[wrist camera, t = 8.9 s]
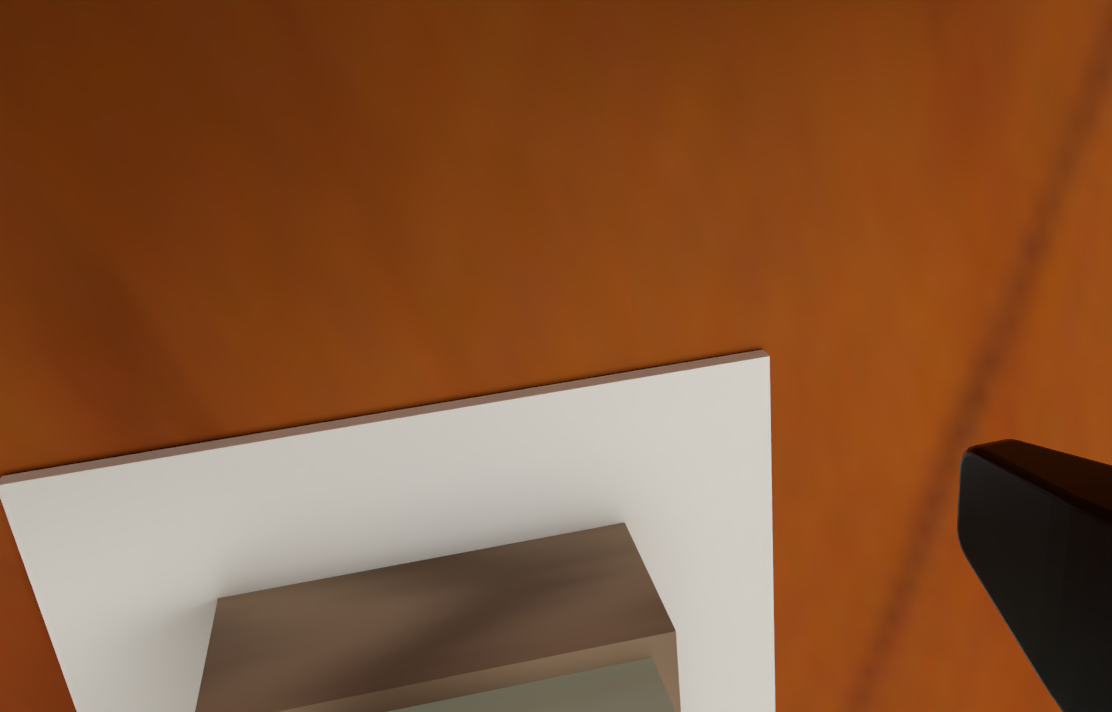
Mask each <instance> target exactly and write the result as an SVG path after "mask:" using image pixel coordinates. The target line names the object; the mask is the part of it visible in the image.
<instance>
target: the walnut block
mask: <svg viewBox="0 0 1112 712" xmlns="http://www.w3.org/2000/svg"><path fill="white" fill-rule="evenodd" d="M647 658H653V661H654V663H655V665H656V668H657V670H658V673H659V675H660V677H661V680H662V682H663V684H664V687H665V689H666V692H667V694H668V696H669V699H670V701H671V703H672V706H673V708H674V711H675V712H681V705H680V689H679V673H678V657H677V640H676V630H675V628H674V626H673V624H672V622H671V620H670V618H669V615H668V613H667V611H666V609H665V607H664V605H663V603H662V601H661V598H660V596H659V594H658V592H657V590H656V588H655V586H654V584H653V581H652V579H651V577H650V575H649V573H648V571H647V569H646V567H645V565H644V562H643V560H642V558H641V556H640V554H639V552H638V550H637V548H636V545H635V543H634V541H633V539H632V537H631V535H630V533H629V531H628V528H627V526H626V524H625V522H624V523H619V524H614V525H608V526H603V527H598V528H592V529H587V530H582V531H576V532H571V533H565V534H560V535H555V536H549V537H544V538H539V539H533V540H528V541H522V542H517V543H512V544H506V545H501V546H496V547H490V548H485V549H479V550H474V551H469V552H463V553H458V554H453V555H447V556H442V557H437V558H431V559H426V560H420V561H415V562H410V563H404V564H399V565H394V566H388V567H383V568H377V569H372V570H367V571H361V572H356V573H351V574H345V575H340V576H335V577H329V578H324V579H318V580H313V581H308V582H302V583H297V584H292V585H286V586H281V587H275V588H270V589H265V590H259V591H254V592H249V593H243V594H238V595H232V596H227V597H222V598H218V600H217V605H216V610H215V615H214V620H213V625H212V630H211V635H210V640H209V645H208V650H207V655H206V660H205V665H204V670H203V675H202V680H201V685H200V690H199V695H198V700H197V704H196V709H195V712H388V711H393V710H398V709H403V708H408V707H412V706H417V705H422V704H427V703H432V702H437V701H442V700H447V699H451V698H456V697H461V696H466V695H471V694H476V693H481V692H486V691H491V690H495V689H500V688H505V687H510V686H515V685H520V684H525V683H530V682H534V681H539V680H544V679H549V678H554V677H559V676H564V675H569V674H574V673H578V672H583V671H588V670H593V669H598V668H603V667H608V666H613V665H617V664H622V663H627V662H632V661H637V660H642V659H647Z"/></svg>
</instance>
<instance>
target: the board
mask: <svg viewBox="0 0 1112 712" xmlns="http://www.w3.org/2000/svg"><path fill="white" fill-rule="evenodd" d="M0 499H1V501H2V504H3V507H4V510H5V513H6V515H7V518H8V521H9V524H10V527H11V529H12V532H13V535H14V538H15V541H16V543H17V546H18V549H19V552H20V555H21V557H22V560H23V563H24V566H25V568H26V571H27V574H28V577H29V580H30V582H31V585H32V588H33V591H34V594H35V596H36V599H37V602H38V605H39V608H40V610H41V613H42V616H43V619H44V622H45V624H46V627H47V630H48V633H49V636H50V638H51V641H52V644H53V647H54V650H55V652H56V655H57V658H58V661H59V663H60V666H61V669H62V672H63V675H64V677H65V680H66V683H67V686H68V689H69V691H70V694H71V697H72V700H73V703H74V705H75V708H76V711H77V712H195V709H196V704H197V700H198V695H199V690H200V685H201V680H202V675H203V670H204V665H205V660H206V655H207V650H208V645H209V640H210V635H211V630H212V625H213V620H214V615H215V610H216V605H217V600H218V598H222V597H227V596H232V595H238V594H243V593H249V592H254V591H259V590H265V589H270V588H275V587H281V586H286V585H292V584H297V583H302V582H308V581H313V580H318V579H324V578H329V577H335V576H340V575H345V574H351V573H356V572H361V571H367V570H372V569H377V568H383V567H388V566H394V565H399V564H404V563H410V562H415V561H420V560H426V559H431V558H437V557H442V556H447V555H453V554H458V553H463V552H469V551H474V550H479V549H485V548H490V547H496V546H501V545H506V544H512V543H517V542H522V541H528V540H533V539H539V538H544V537H549V536H555V535H560V534H565V533H571V532H576V531H582V530H587V529H592V528H598V527H603V526H608V525H614V524H619V523H624V522H625V524H626V526H627V528H628V531H629V533H630V535H631V537H632V539H633V541H634V543H635V545H636V548H637V550H638V552H639V554H640V556H641V558H642V560H643V562H644V565H645V567H646V569H647V571H648V573H649V575H650V577H651V579H652V581H653V584H654V586H655V588H656V590H657V592H658V594H659V596H660V598H661V601H662V603H663V605H664V607H665V609H666V611H667V613H668V615H669V618H670V620H671V622H672V624H673V626H674V628H675V630H676V640H677V657H678V673H679V689H680V705H681V712H775V665H774V601H773V538H772V475H771V412H770V356H769V355H768V354H767V353H766V352H765V351H764V350H757V351H751V352H745V353H738V354H732V355H726V356H720V357H714V358H708V359H702V360H696V361H690V362H684V363H678V364H672V365H666V366H660V367H654V368H648V369H642V370H636V371H630V372H624V373H618V374H612V375H606V376H600V377H594V378H588V379H582V380H576V381H570V382H564V383H558V384H552V385H546V386H540V387H534V388H528V389H522V390H516V391H510V392H504V393H498V394H492V395H486V396H480V397H474V398H468V399H462V400H456V401H450V402H444V403H438V404H432V405H426V406H420V407H414V408H408V409H402V410H396V411H390V412H384V413H378V414H372V415H366V416H360V417H354V418H348V419H341V420H335V421H329V422H323V423H317V424H311V425H305V426H299V427H293V428H287V429H281V430H275V431H269V432H263V433H257V434H251V435H245V436H239V437H233V438H227V439H221V440H215V441H209V442H203V443H197V444H191V445H185V446H179V447H173V448H167V449H161V450H155V451H149V452H143V453H137V454H131V455H125V456H119V457H113V458H107V459H101V460H95V461H89V462H83V463H77V464H71V465H65V466H59V467H53V468H47V469H41V470H35V471H29V472H23V473H17V474H11V475H5V476H2V477H1V478H0Z"/></svg>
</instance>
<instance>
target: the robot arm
mask: <svg viewBox="0 0 1112 712" xmlns="http://www.w3.org/2000/svg"><path fill="white" fill-rule="evenodd" d="M957 532H958V539H959V542H960V546H961V548H962V551H963V553H964V555H965V557H966V559H967V560H968V562H969V564H970V565H971V567H972V568H973V570H974V572H975V573H976V575H977V577H978V578H979V580H980V582H981V583H982V585H983V586H984V588H985V590H986V591H987V593H988V595H989V596H990V598H991V600H992V601H993V603H994V605H995V606H996V608H997V609H998V611H999V613H1000V614H1001V616H1002V618H1003V619H1004V621H1005V623H1006V624H1007V626H1008V627H1009V629H1010V631H1011V632H1012V634H1013V636H1014V637H1015V639H1016V641H1017V642H1018V644H1019V646H1020V647H1021V649H1022V650H1023V652H1024V654H1025V655H1026V657H1027V659H1028V660H1029V662H1030V664H1031V665H1032V667H1033V668H1034V670H1035V672H1036V673H1037V675H1038V676H1039V678H1040V679H1041V681H1042V682H1043V684H1044V686H1045V687H1046V689H1047V690H1048V692H1049V693H1050V695H1051V696H1052V698H1053V699H1054V700H1055V702H1056V703H1057V704H1058V706H1059V707H1060V709H1061V710H1062V711H1063V712H1112V465H1108V464H1104V463H1101V462H1097V461H1093V460H1089V459H1086V458H1082V457H1078V456H1075V455H1071V454H1067V453H1063V452H1060V451H1056V450H1052V449H1048V448H1045V447H1041V446H1037V445H1034V444H1030V443H1026V442H1022V441H1019V440H1014V439H1005V440H1000V441H995V442H990V443H985V444H980V445H975V446H972V447H969V448H968V449H967V450H966V451H965V452H964V454H963V456H962V459H961V464H960V476H959V496H958V515H957Z"/></svg>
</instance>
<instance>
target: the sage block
mask: <svg viewBox="0 0 1112 712" xmlns="http://www.w3.org/2000/svg"><path fill="white" fill-rule="evenodd" d="M388 712H675V711H674V708H673V706H672V703H671V701H670V699H669V696H668V694H667V692H666V689H665V687H664V684H663V682H662V680H661V677H660V675H659V673H658V670H657V668H656V665H655V663H654V661H653V658H647V659H642V660H637V661H632V662H627V663H622V664H617V665H613V666H608V667H603V668H598V669H593V670H588V671H583V672H578V673H574V674H569V675H564V676H559V677H554V678H549V679H544V680H539V681H534V682H530V683H525V684H520V685H515V686H510V687H505V688H500V689H495V690H491V691H486V692H481V693H476V694H471V695H466V696H461V697H456V698H451V699H447V700H442V701H437V702H432V703H427V704H422V705H417V706H412V707H408V708H403V709H398V710H393V711H388Z"/></svg>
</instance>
